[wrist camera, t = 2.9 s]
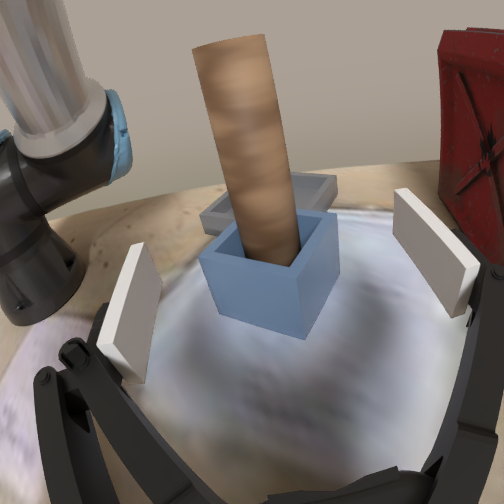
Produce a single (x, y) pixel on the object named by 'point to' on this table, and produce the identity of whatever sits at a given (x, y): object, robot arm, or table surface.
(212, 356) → the table surface
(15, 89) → the robot arm
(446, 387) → the table surface
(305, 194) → the tray
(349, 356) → the table surface
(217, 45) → the dowel
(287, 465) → the table surface
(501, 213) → the jerry can
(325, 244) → the open box
